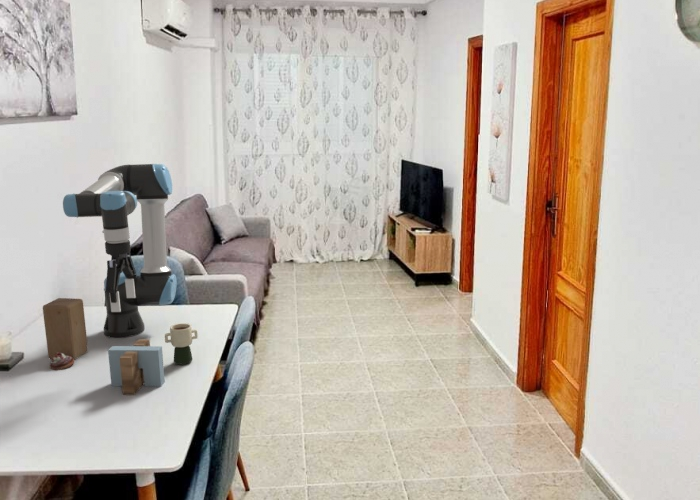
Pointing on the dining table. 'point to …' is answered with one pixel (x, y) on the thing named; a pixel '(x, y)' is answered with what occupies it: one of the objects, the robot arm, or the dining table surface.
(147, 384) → the blue arch block
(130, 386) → the wooden stepped blocks
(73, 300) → the wooden block
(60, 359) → the pastry
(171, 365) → the dining table surface
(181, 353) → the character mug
